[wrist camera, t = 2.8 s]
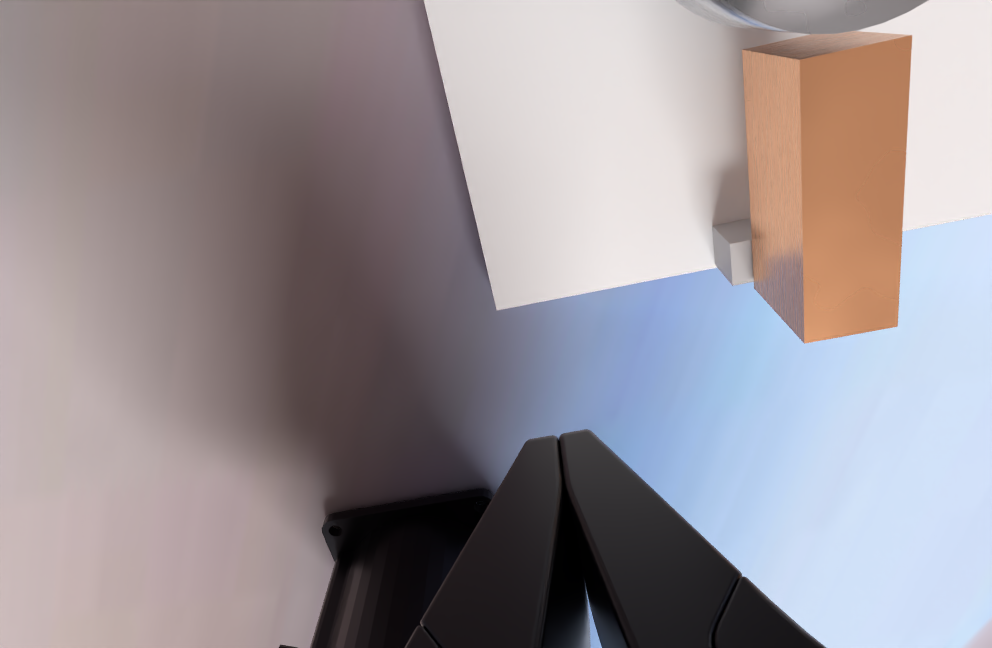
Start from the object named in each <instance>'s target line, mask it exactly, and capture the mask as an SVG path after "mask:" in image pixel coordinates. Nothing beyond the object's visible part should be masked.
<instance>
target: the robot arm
mask: <svg viewBox="0 0 992 648" xmlns="http://www.w3.org/2000/svg"><path fill="white" fill-rule="evenodd" d="M479 501H483V502H485V503H486V504H484V505H479V504H477V503H476V502H479ZM333 526H338V527H340V529H336V528H334V527H333ZM322 533H323V536H324V538H325V540H326V543H327V545H328V547H329V550H330V552H331V554H332V557H333V559H334V561H335V565H334V568H333V572H332V575H331V578H330V582H329V585H328V589H327V592H326V596H325V599H324V602H323V606H322V609H321V613H320V616H319V619H318V623H317V626H316V630H315V633H314V636H313V640H312V643H311V647H310V648H590V623H589V609H588V600H587V594H588V599H589V603H590V608H591V611H592V615H593V619H594V622H595V626H596V629H597V633H598V636H599V639H600V642H601V646H602V648H826V647H825V646H824V645H822V644H821V643H820V642H818V641H817V640H816V639H815V638H813V637H812V636H811V635H810V634H808V633H807V632H806V631H805V630H804V629H803V628H801V627H800V626H799V625H798V624H797V623H796V622H795V621H794V620H792V619H791V618H790V617H789V616H788V615H787V614H786V613H785V612H783V611H782V610H781V609H780V608H779V607H778V606H777V605H776V604H774V603H773V602H772V601H771V600H770V599H769V598H768V597H767V596H766V595H765V594H764V593H763V592H761V591H760V590H759V589H758V588H757V587H756V586H755V585H754V584H753V583H752V582H751V581H750V580H749V579H748V578H747V577H742V574H741V572H740V571H739V570H738V569H737V568H736V567H735V566H734V565H733V564H732V563H730V562H729V561H728V560H727V559H726V558H725V557H724V556H723V555H722V554H721V553H720V552H719V551H718V550H717V549H716V548H715V547H714V546H712V545H711V544H710V543H709V542H708V541H707V540H706V539H705V538H704V537H703V536H702V535H701V534H700V533H699V532H698V531H697V530H695V529H694V528H693V527H692V526H691V525H690V524H689V523H688V522H687V521H686V520H685V519H684V518H683V517H682V516H681V515H680V514H679V513H677V512H676V511H675V510H674V509H673V508H672V507H671V506H670V505H669V504H668V503H667V502H666V501H665V500H664V499H663V498H662V497H661V496H659V495H658V494H657V493H656V492H655V491H654V490H653V489H652V488H651V487H650V486H649V485H648V484H647V483H646V482H645V481H644V480H643V479H641V478H640V477H639V476H638V475H637V474H636V473H635V472H634V471H633V470H632V469H631V468H630V467H629V466H628V465H627V464H626V463H625V462H623V461H622V460H621V459H620V458H619V457H618V456H617V455H616V454H615V453H614V452H613V451H612V450H611V449H610V448H609V447H608V446H606V445H605V444H604V443H603V442H602V441H601V440H600V439H599V438H598V437H597V436H596V435H595V434H594V433H593V432H592V431H590V430H587V429H585V430H580V431H574V432H569V433H563V434H561V435H560V437H559V439H558V438H557V437H556V436H554V435H552V436H546V437H540V438H534V439H529V440H528V441H526V443H525V444H524V446H523V447H522V449H521V451H520V453H519V454H518V456H517V458H516V459H515V461H514V463H513V464H512V466H511V468H510V470H509V471H508V473H507V475H506V476H505V478H504V480H503V481H502V483H501V485H500V487H499V488H498V490H497V492H496V493H495V495H493V493H492V492H490V491H489V490H486V489H474V490H468V491H462V492H456V493H450V494H444V495H439V496H433V497H427V498H421V499H415V500H409V501H403V502H397V503H391V504H385V505H380V506H374V507H368V508H362V509H356V510H350V511H344V512H338V513H333V514H330V515H328V516H327V517H326V519H325V521H324V524H323V527H322ZM586 589H587V592H586ZM279 648H297V647H291V646H285V645H280V647H279Z"/></svg>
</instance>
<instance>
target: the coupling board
mask: <svg viewBox="0 0 992 648" xmlns="http://www.w3.org/2000/svg"><path fill="white" fill-rule="evenodd" d="M424 3H425V8H426V12H427V16H428V20H429V25H430V29H431V33H432V37H433V42H434V46H435V50H436V54H437V59H438V63H439V67H440V71H441V76H442V80H443V84H444V88H445V93H446V97H447V101H448V105H449V109H450V114H451V118H452V122H453V126H454V131H455V135H456V139H457V143H458V148H459V152H460V156H461V160H462V165H463V169H464V173H465V177H466V182H467V186H468V190H469V194H470V199H471V203H472V207H473V211H474V216H475V220H476V224H477V228H478V233H479V237H480V241H481V245H482V250H483V254H484V258H485V262H486V266H487V271H488V275H489V279H490V283H491V288H492V292H493V296H494V300H495V305H496V309H497V310H502V309H507V308H512V307H517V306H522V305H527V304H532V303H538V302H543V301H548V300H553V299H558V298H563V297H568V296H574V295H579V294H584V293H589V292H594V291H599V290H604V289H609V288H615V287H620V286H625V285H630V284H635V283H640V282H645V281H651V280H656V279H661V278H666V277H671V276H676V275H681V274H686V273H692V272H697V271H702V270H707V269H712V268H718V269H719V270H720V271H721V272H722V274H723V275H724V276H725V277H726V278H727V280H728V281H729V282H730V283H731V284H732V286H733V285H739V284H744V283H749V282H754V274H753V254H752V234H751V215H750V195H749V176H748V156H747V137H746V117H745V98H744V78H743V59H742V50H743V49H748V48H752V47H757V46H761V45H765V44H770V43H774V42H779V41H783V40H788V39H792V38H797V37H801V36H806V35H810V34H802V33H791V32H779V31H768V30H757V29H746V28H738V27H730V26H725V25H722V24H718V23H715V22H711V21H709V20H707V19H705V18H702V17H700V16H698V15H696V14H694V13H692V12H691V11H689V10H688V9H686V8H685V7H683V6H682V5H680V4H679V3H678V2H677V1H676V0H424ZM857 31H861V32H875V33H890V34H905V35H912V50H911V70H910V90H909V109H908V129H907V149H906V168H905V188H904V208H903V228H902V231H907V230H912V229H917V228H923V227H928V226H933V225H938V224H943V223H948V222H953V221H959V220H964V219H969V218H974V217H979V216H984V215H989V214H992V0H928V1H927V2H925V3H923V4H921V5H920V6H918V7H916V8H914V9H913V10H911V11H909V12H907V13H905V14H903V15H901V16H898V17H896V18H894V19H891V20H889V21H887V22H884V23H882V24H878V25H875V26H871V27H868V28H864V29H861V30H857Z"/></svg>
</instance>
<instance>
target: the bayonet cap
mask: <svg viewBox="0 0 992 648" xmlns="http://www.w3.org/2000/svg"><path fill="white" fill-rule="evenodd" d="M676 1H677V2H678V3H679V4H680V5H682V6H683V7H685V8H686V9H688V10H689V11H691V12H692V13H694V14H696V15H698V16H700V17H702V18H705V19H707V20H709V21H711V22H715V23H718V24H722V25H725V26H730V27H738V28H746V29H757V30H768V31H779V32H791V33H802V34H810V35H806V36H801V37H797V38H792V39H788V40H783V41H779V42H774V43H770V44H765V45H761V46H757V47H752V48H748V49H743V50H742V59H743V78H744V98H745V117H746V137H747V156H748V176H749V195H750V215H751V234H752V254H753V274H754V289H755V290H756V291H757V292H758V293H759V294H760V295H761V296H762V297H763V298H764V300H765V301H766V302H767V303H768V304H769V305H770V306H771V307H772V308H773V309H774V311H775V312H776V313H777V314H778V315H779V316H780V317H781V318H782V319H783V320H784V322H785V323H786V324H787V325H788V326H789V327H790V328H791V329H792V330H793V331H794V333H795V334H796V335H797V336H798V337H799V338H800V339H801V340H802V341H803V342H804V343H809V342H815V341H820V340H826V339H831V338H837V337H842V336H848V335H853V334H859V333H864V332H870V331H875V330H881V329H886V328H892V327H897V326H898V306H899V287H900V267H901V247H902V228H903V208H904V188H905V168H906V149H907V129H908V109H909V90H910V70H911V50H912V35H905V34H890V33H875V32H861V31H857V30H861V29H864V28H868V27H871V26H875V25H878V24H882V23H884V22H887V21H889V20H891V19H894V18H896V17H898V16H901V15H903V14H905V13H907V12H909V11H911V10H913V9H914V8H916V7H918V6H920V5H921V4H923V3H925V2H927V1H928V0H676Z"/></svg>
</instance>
